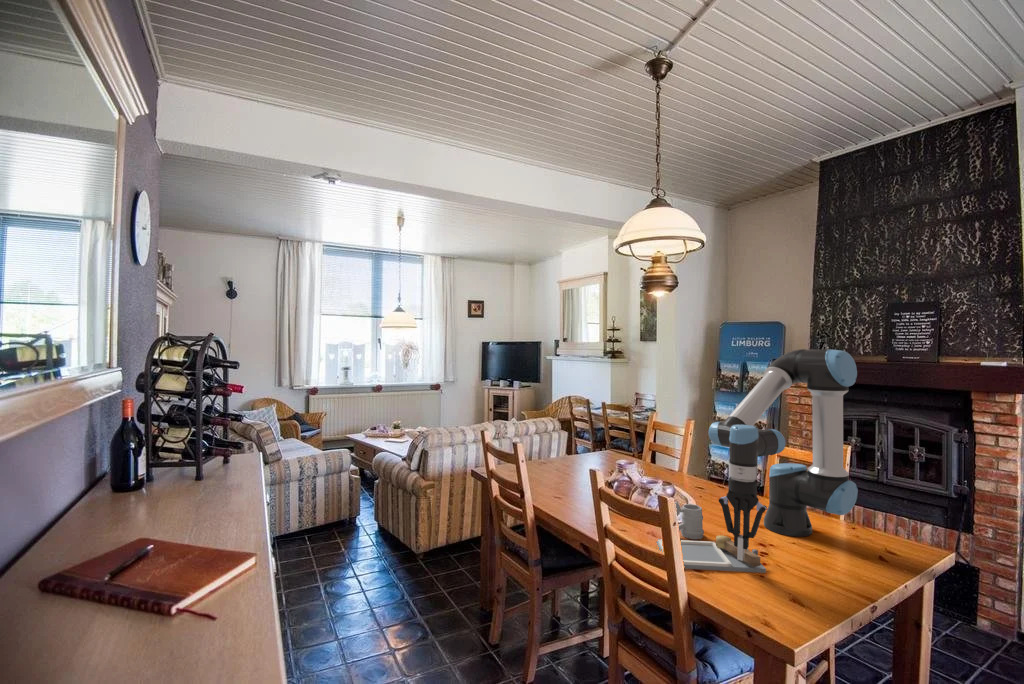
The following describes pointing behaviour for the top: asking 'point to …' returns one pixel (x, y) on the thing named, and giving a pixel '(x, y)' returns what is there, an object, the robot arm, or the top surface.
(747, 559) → the bar
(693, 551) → the board
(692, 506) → the mug
